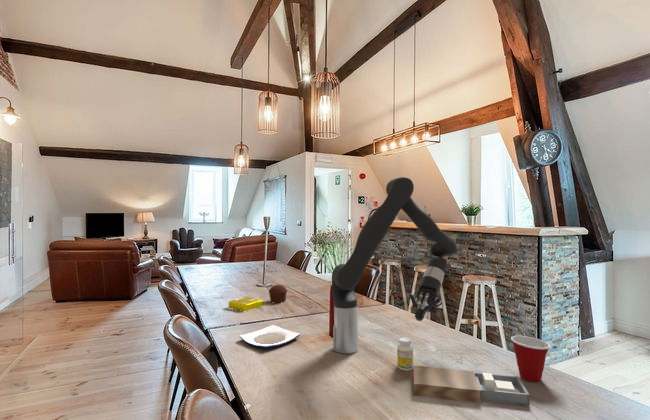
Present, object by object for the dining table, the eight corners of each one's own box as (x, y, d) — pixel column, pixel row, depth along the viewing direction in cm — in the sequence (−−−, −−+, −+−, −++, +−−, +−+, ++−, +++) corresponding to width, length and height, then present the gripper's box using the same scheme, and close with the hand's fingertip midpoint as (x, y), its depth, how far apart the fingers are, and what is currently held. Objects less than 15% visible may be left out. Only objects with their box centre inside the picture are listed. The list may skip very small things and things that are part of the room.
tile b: (514, 389, 96) (515, 398, 96) (511, 381, 100) (511, 390, 100) (497, 387, 97) (497, 396, 97) (494, 380, 102) (494, 388, 102)
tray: (481, 400, 96) (481, 389, 96) (474, 381, 107) (474, 372, 107) (529, 405, 93) (529, 394, 93) (518, 386, 104) (517, 376, 104)
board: (414, 395, 100) (413, 383, 100) (414, 376, 111) (414, 365, 111) (480, 403, 95) (480, 390, 95) (473, 382, 107) (473, 371, 107)
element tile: (246, 303, 210) (246, 295, 210) (264, 306, 201) (264, 298, 201) (227, 309, 198) (227, 300, 198) (244, 313, 189) (244, 304, 189)
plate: (303, 339, 147) (303, 333, 147) (265, 354, 132) (265, 347, 132) (273, 329, 161) (273, 323, 161) (236, 342, 146) (236, 335, 146)
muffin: (265, 301, 211) (264, 285, 212) (279, 298, 219) (279, 282, 219) (276, 305, 203) (275, 288, 203) (291, 301, 210) (290, 285, 210)
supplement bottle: (409, 372, 114) (408, 343, 114) (394, 368, 118) (394, 340, 118) (416, 366, 118) (415, 339, 118) (402, 362, 122) (401, 335, 122)
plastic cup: (560, 385, 104) (559, 345, 104) (526, 387, 103) (525, 347, 103) (535, 369, 115) (534, 333, 115) (504, 371, 114) (503, 335, 114)
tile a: (484, 379, 98) (494, 380, 97) (482, 372, 102) (491, 373, 102) (485, 395, 98) (494, 396, 97) (482, 387, 102) (491, 388, 102)
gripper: (413, 273, 138) (398, 311, 129) (444, 276, 128) (431, 317, 119) (420, 284, 141) (406, 321, 132) (451, 288, 132) (438, 328, 123)
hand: (418, 319), depth 126 cm, fingers closed
